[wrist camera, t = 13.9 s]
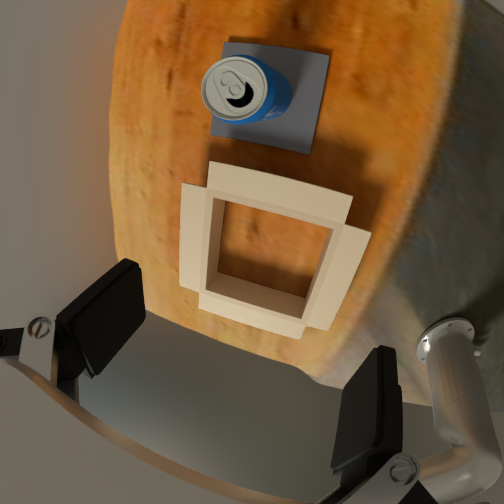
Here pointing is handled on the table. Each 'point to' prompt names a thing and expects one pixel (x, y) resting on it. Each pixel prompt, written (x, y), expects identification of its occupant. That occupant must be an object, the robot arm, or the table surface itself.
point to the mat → (302, 105)
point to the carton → (254, 295)
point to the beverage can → (245, 90)
